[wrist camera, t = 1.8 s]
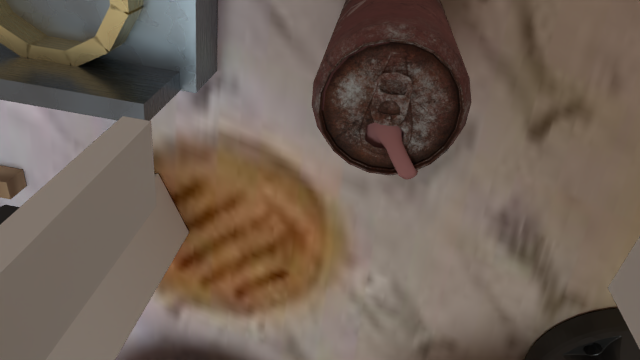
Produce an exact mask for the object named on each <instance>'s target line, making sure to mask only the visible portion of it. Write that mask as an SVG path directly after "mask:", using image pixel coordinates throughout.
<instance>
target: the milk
mask: <svg viewBox="0 0 640 360" xmlns="http://www.w3.org/2000/svg"><path fill="white" fill-rule="evenodd" d="M154 175H155V190H156V205H157V206H156V207H155V208H154V210H153V211H152V213H151V214H150V215H149V217H148V218H147V220H146V221H145V222H144V224H143V225H142V227H141V228H140V229H139V231H138V232H137V234H136V235H135V236H134V238H133V239H132V240H131V242H130V243H129V245H128V246H127V247H126V249H125V250H124V252H123V253H122V254H121V256H120V257H119V259H118V260H117V261H116V263H115V264H114V265H113V267H112V268H111V270H110V271H109V272H108V274H107V275H106V277H105V278H104V279H103V281H102V282H101V284H100V285H99V286H98V288H97V289H96V291H95V292H94V293H93V295H92V296H91V297H90V299H89V300H88V302H87V303H86V304H85V306H84V307H83V309H82V310H81V311H80V313H79V314H78V316H77V317H76V318H75V320H74V321H73V322H72V324H71V325H70V327H69V328H68V329H67V331H66V332H65V334H64V335H63V336H62V338H61V339H60V341H59V342H58V343H57V345H56V346H55V348H54V349H53V350H52V352H51V353H50V354H49V356H48V357H47V359H46V360H115V359H116V357H117V356H118V354H119V352H120V350H121V349H122V347H123V345H124V344H125V342H126V340H127V338H128V337H129V335H130V333H131V332H132V330H133V328H134V326H135V325H136V323H137V321H138V319H139V318H140V316H141V314H142V313H143V311H144V309H145V307H146V306H147V304H148V302H149V301H150V299H151V297H152V295H153V294H154V292H155V290H156V288H157V287H158V285H159V283H160V282H161V280H162V278H163V276H164V275H165V273H166V271H167V270H168V268H169V266H170V264H171V263H172V261H173V259H174V257H175V256H176V254H177V252H178V251H179V249H180V247H181V245H182V244H183V242H184V240H185V238H186V237H187V235H188V233H189V231H188V229H187V227H186V225H185V223H184V222H183V220H182V218H181V216H180V214H179V212H178V210H177V208H176V206H175V204H174V202H173V200H172V199H171V197H170V195H169V193H168V191H167V189H166V187H165V185H164V183H163V181H162V179H161V177H160V176H159V174H158V173H157V174H154Z"/></svg>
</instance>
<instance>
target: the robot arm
mask: <svg viewBox="0 0 640 360" xmlns="http://www.w3.org/2000/svg"><path fill="white" fill-rule="evenodd" d="M156 206H157V205H156V190H155V175H154V160H153V145H152V130H151V121H147V120H142V119H136V118H130V117H125V116H122V117H121V118H120V119H119V120H118V121H117V122H116V123H114V124H113V125H112V126H111V127H110V128H109V129H108V130H107V131H105V132H104V133H103V134H102V135H101V136H100V137H99V138H98V139H96V140H95V141H94V142H93V143H92V144H91V145H90V146H88V147H87V148H86V149H85V150H84V151H83V152H82V153H81V154H79V155H78V156H77V157H76V158H75V159H74V160H73V161H72V162H70V163H69V164H68V165H67V166H66V167H65V168H64V169H63V170H61V171H60V172H59V173H58V174H57V175H56V176H55V177H54V178H52V179H51V180H50V181H49V182H48V183H47V184H46V185H45V186H43V187H42V188H41V189H40V190H39V191H38V192H37V193H35V194H34V195H33V196H32V197H31V198H30V199H29V200H28V201H26V202H25V203H24V204H23V205H22V206H21V207H15V206H9V205H4V206H2V207H0V360H46V359H47V357H48V356H49V354H50V353H51V352H52V350H53V349H54V348H55V346H56V345H57V343H58V342H59V341H60V339H61V338H62V336H63V335H64V334H65V332H66V331H67V329H68V328H69V327H70V325H71V324H72V322H73V321H74V320H75V318H76V317H77V316H78V314H79V313H80V311H81V310H82V309H83V307H84V306H85V304H86V303H87V302H88V300H89V299H90V297H91V296H92V295H93V293H94V292H95V291H96V289H97V288H98V286H99V285H100V284H101V282H102V281H103V279H104V278H105V277H106V275H107V274H108V272H109V271H110V270H111V268H112V267H113V265H114V264H115V263H116V261H117V260H118V259H119V257H120V256H121V254H122V253H123V252H124V250H125V249H126V247H127V246H128V245H129V243H130V242H131V240H132V239H133V238H134V236H135V235H136V234H137V232H138V231H139V229H140V228H141V227H142V225H143V224H144V222H145V221H146V220H147V218H148V217H149V215H150V214H151V213H152V211H153V210H154V208H155V207H156ZM608 289H609V291H610V293H611V295H612V297H613V299H614V301H615V303H616V305H617V307H618V308H619V309H609V310H602V311H597V312H593V313H589V314H585V315H582V316H579V317H576V318H573V319H571V320H568V321H566V322H564V323H562V324H560V325H558V326H556V327H555V328H553V329H552V330H550V331H549V332H547V333H546V334H544V335H543V336H542V337H541V338H540V339H539V340H538V341H537V342H536V343H535V344H534V345H533V346H532V348H531V349H530V350H529V352H528V354H527V356H526V358H525V360H640V237H639V238H638V240H637V241H636V243H635V245H634V246H633V248H632V249H631V251H630V253H629V254H628V256H627V258H626V259H625V261H624V262H623V264H622V266H621V267H620V269H619V270H618V272H617V274H616V275H615V277H614V279H613V280H612V282H611V283H610V285H609V287H608Z"/></svg>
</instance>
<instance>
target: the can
mask: <svg viewBox="0 0 640 360" xmlns="http://www.w3.org/2000/svg"><path fill="white" fill-rule="evenodd" d="M470 105H471V93H470V81H469V76H468V73H467V71H466V68H465V65H464V63H463V60H462V57H461V55H460V52H459V49H458V47H457V44H456V41H455V39H454V36H453V33H452V31H451V28H450V25H449V23H448V20H447V18H446V15H445V12H444V10H443V7H442V4H441V2H440V0H346V2H345V5H344V7H343V9H342V12H341V14H340V17H339V19H338V22H337V24H336V27H335V30H334V32H333V35H332V37H331V40H330V42H329V45H328V47H327V50H326V52H325V55H324V57H323V60H322V62H321V65H320V67H319V70H318V72H317V75H316V77H315V80H314V84H313V96H312V108H313V112H314V116H315V119H316V123H317V127H318V128H319V130H320V132H321V133H322V135H323V136H324V138H325V139H326V141H327V142H328V144H329V145H330V146H331V148H332V149H333V151H334V152H335V153H337V154H338V155H339V156H340V157H341V158H343V159H344V160H345V161H346V162H347V163H349V164H350V165H353V166H355V167H357V168H360V169H362V170H364V171H366V172H369V173H377V174H384V175H395V174H398V175H399V176H400V177H402V178H404V179H411V178H413V177H415V176H416V175H417V172H418V171H417V170H418V169H420V168H422V167H425V166H427V165H429V164H431V163H432V162H434V161H435V160H436V159H437V158H439V157H440V156H441V155H442V154H443V153H445V152H446V151H447V150H448V149H449V147H450V146H451V145H452V144H453V143H454V141H455V140H456V138H457V137H458V135H459V134H460V132H461V130H462V129H463V127H464V126H465V124H466V120H467V116H468V113H469V109H470Z"/></svg>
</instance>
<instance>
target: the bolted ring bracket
mask: <svg viewBox="0 0 640 360" xmlns="http://www.w3.org/2000/svg"><path fill="white" fill-rule="evenodd" d="M217 6H218V0H0V100H6V101H12V102H17V103H23V104H29V105H34V106H40V107H45V108H51V109H57V110H62V111H68V112H74V113H79V114H85V115H91V116H96V117H102V118H107V119H113V120H119V119H120V118H121V117H122V116H125V117H130V118H136V119H142V120H147V121H150V120H151V119H152V118H153V117H154V116H155V115H156V114H157V113H158V112H159V111H160V110H161V109H162V108H163V107H164V106H165V105H166V104H167V103H168V102H169V101H170V100H171V99H172V98H173V97H174V96H175V95H176V94H177V93H178V92H179V91H180V90H182V91H188V92H193V93H197V92H198V91H199V90H200V88H201V87H202V86H203V85H204V84H205V83H206V82H207V81H208V80H209V79H210V78H211V77H212V76H213V74H214V73H215V72H216V71H217Z"/></svg>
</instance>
